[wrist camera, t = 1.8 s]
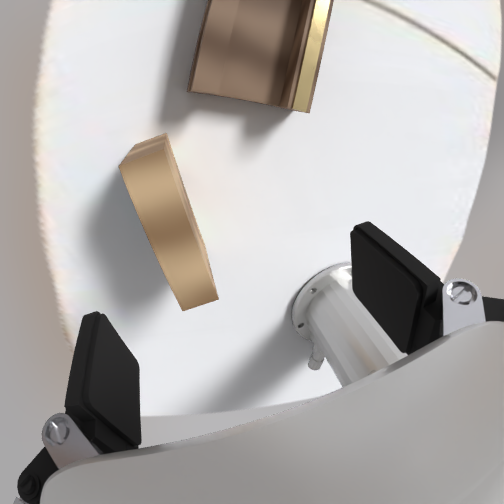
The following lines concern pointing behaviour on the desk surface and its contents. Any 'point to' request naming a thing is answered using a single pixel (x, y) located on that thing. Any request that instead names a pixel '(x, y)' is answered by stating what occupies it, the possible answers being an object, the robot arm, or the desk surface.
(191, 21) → the desk surface
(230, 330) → the desk surface
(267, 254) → the desk surface
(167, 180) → the wooden picture frame
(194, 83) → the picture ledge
